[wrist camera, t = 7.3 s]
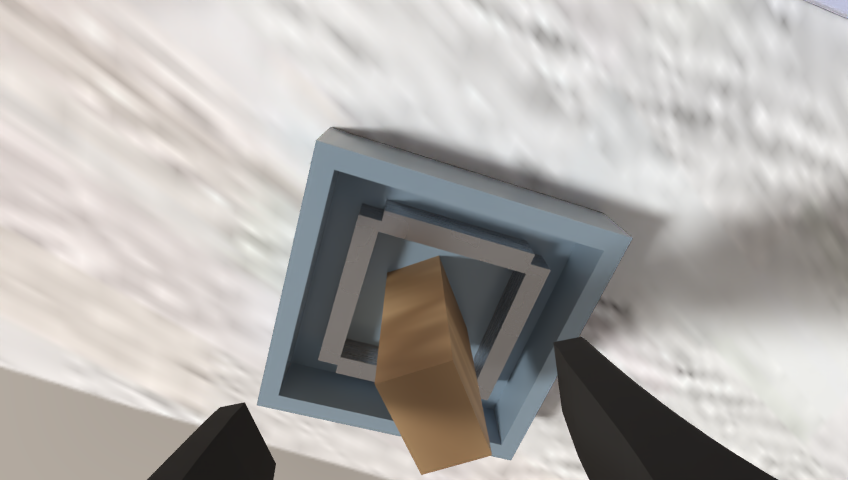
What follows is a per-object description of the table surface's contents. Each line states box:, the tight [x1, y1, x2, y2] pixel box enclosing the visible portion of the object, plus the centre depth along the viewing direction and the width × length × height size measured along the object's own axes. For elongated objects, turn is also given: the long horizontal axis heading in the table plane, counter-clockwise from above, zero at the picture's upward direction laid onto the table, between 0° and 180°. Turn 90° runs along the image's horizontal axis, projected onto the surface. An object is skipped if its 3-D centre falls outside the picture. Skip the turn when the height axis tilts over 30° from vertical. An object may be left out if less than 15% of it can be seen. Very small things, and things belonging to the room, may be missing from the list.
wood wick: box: [375, 256, 492, 475], centre depth 17 cm, size 2×4×7 cm, turn 20°
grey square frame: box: [318, 199, 551, 400], centre depth 19 cm, size 8×8×1 cm
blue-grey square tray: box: [257, 127, 633, 460], centre depth 19 cm, size 12×12×3 cm
